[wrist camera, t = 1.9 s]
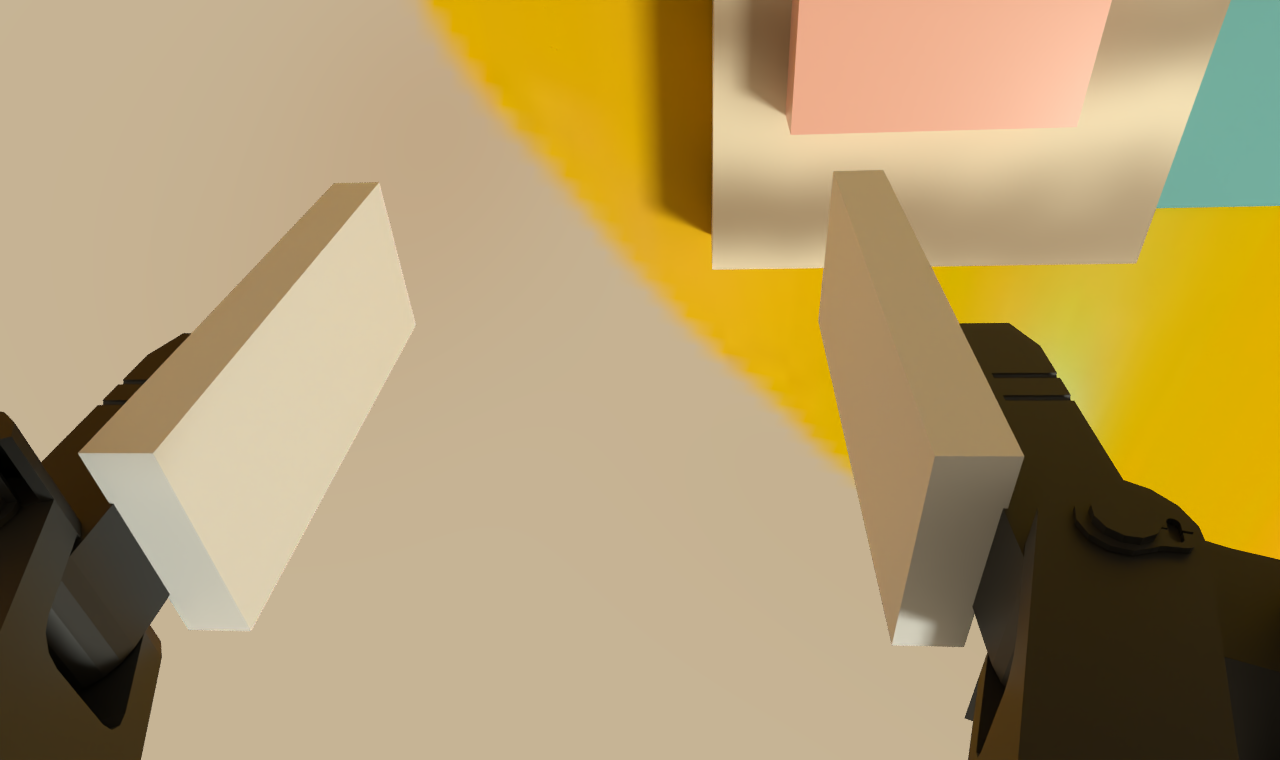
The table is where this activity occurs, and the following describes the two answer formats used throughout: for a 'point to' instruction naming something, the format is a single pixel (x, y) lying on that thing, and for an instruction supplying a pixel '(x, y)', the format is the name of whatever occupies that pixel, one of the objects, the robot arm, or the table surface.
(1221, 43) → the mat
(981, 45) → the pink rectangular block
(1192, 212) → the table surface
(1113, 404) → the table surface
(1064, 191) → the beige striped slab
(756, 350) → the table surface
